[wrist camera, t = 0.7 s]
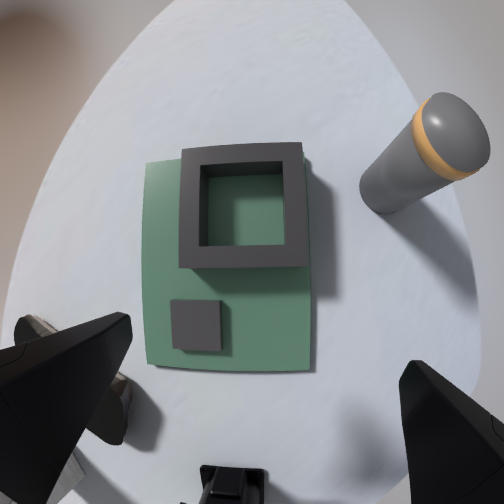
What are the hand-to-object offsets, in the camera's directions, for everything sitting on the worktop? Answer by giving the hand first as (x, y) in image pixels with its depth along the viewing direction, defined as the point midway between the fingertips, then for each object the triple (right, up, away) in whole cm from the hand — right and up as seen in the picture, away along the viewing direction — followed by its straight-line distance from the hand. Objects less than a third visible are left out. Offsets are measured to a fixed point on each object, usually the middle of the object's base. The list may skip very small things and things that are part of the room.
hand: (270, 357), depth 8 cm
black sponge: (-20, -10, +16) cm, 28 cm away
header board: (-3, +2, +15) cm, 16 cm away
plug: (+11, +9, +15) cm, 20 cm away
